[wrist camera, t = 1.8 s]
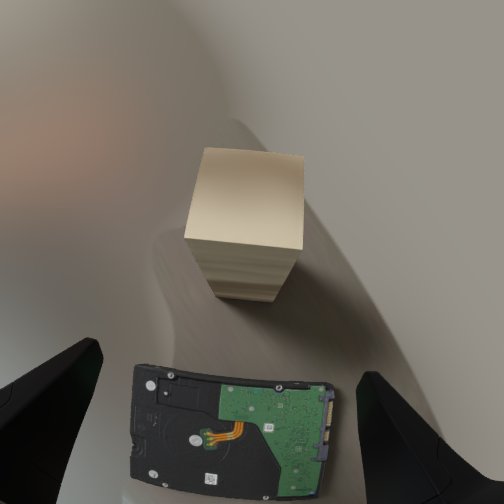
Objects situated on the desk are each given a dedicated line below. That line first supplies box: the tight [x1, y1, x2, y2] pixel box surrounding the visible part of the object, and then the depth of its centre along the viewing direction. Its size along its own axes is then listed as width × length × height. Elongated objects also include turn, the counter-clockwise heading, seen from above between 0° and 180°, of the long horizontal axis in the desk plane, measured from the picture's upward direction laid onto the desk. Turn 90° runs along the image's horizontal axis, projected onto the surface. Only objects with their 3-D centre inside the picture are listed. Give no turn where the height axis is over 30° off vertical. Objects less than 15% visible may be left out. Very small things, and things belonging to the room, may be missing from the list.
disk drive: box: [130, 364, 335, 501], centre depth 17 cm, size 10×3×15 cm
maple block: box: [184, 148, 304, 303], centre depth 17 cm, size 4×4×12 cm
